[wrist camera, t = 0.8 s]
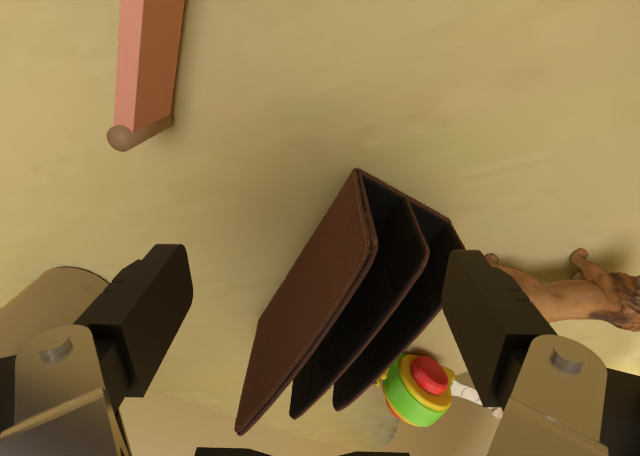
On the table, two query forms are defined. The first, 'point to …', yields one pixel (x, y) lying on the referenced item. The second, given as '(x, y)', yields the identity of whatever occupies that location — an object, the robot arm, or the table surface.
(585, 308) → the lion figurine
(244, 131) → the table surface
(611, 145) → the table surface
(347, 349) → the letter holder
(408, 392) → the toy measuring tape
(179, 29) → the swing panel
